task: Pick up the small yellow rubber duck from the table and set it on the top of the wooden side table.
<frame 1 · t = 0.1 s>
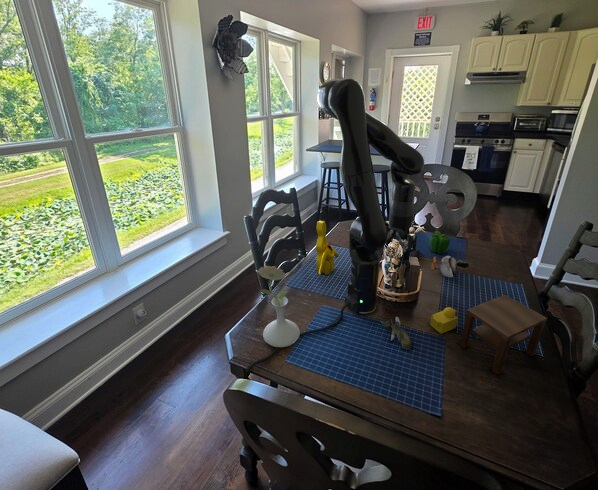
hand: (396, 255, 112), 17 cm above the table, tool pointing down, fingers open, 8 cm apart
flower in vase: (279, 337, 101), on the table
figure statuette: (325, 270, 136), on the table
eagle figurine: (396, 339, 98), on the table
cast iron trivet: (393, 254, 148), on the table
wooden side table: (496, 349, 94), on the table
decorative duck model: (452, 276, 130), on the table
rubber duck: (442, 326, 103), on the table
bell pepper: (437, 251, 149), on the table
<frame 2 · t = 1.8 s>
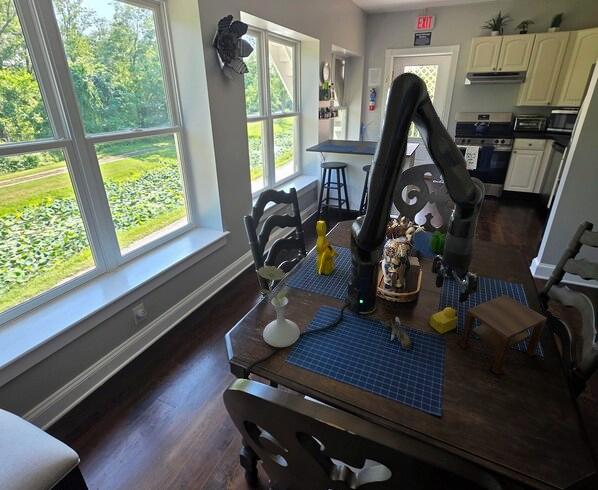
hand: (450, 294, 99), 12 cm above the table, tool pointing down, fingers open, 8 cm apart
nothing on the table moved.
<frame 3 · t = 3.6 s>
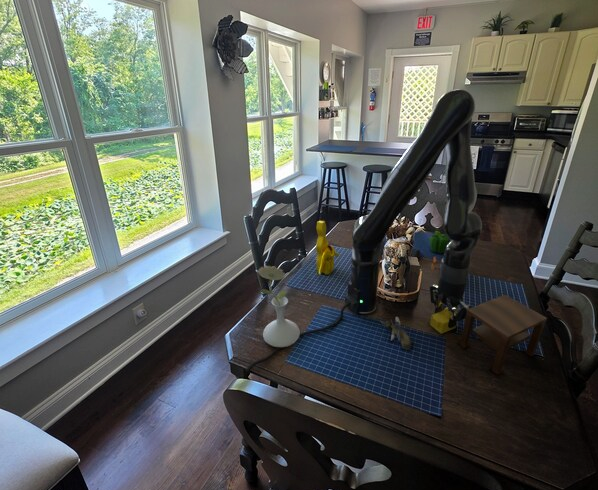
hand: (444, 321, 103), 2 cm above the table, tool pointing down, fingers closed on rubber duck, 4 cm apart
rubber duck: (442, 326, 103), on the table, touching gripper
everything else where it was.
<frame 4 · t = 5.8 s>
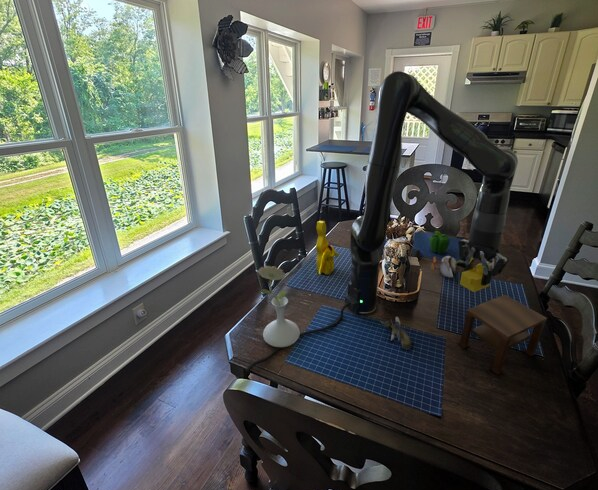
hand: (476, 279, 92), 20 cm above the table, tool pointing down, fingers closed on rubber duck, 4 cm apart
rubber duck: (474, 285, 93), point 18 cm above the table, touching gripper
everything else where it was.
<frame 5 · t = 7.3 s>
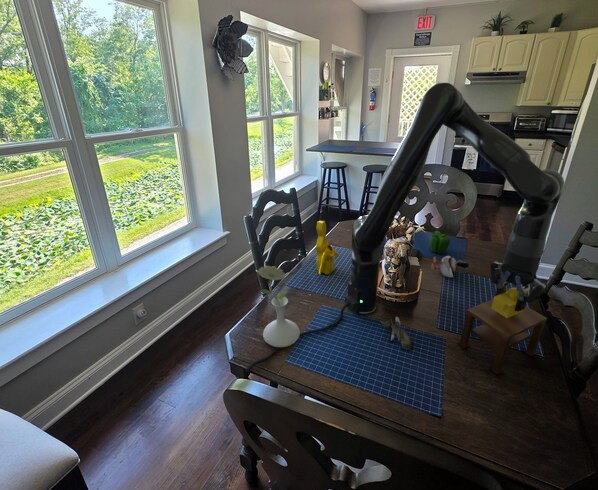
hand: (508, 304, 87), 16 cm above the table, tool pointing down, fingers closed on rubber duck, 4 cm apart
rubber duck: (506, 309, 88), point 14 cm above the table, touching gripper
everything else where it was.
when the fingers open (15 cm above the table, at t = 8.1 s): rubber duck stays where it is, resting on wooden side table.
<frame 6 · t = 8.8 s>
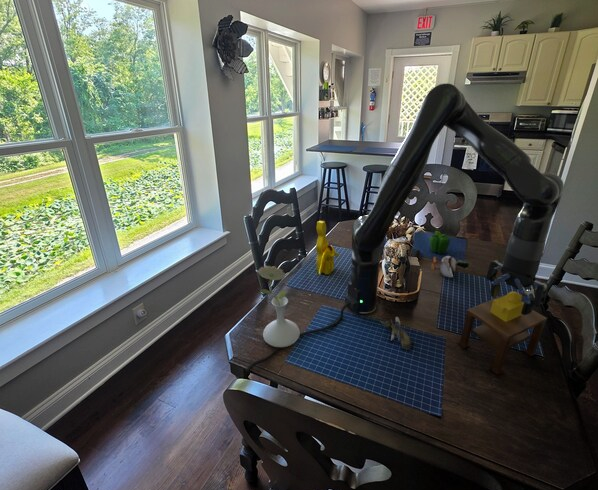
hand: (508, 304, 87), 16 cm above the table, tool pointing down, fingers open, 8 cm apart
rubber duck: (505, 313, 89), point 13 cm above the table, touching wooden side table
everything else where it was.
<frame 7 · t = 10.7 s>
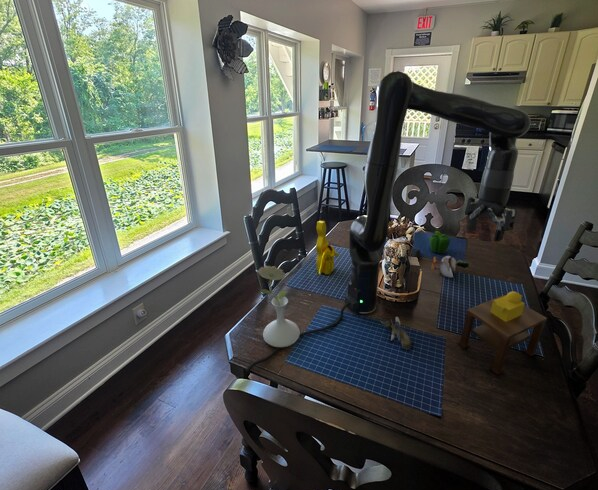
hand: (484, 235, 97), 29 cm above the table, tool pointing down, fingers open, 8 cm apart
nothing on the table moved.
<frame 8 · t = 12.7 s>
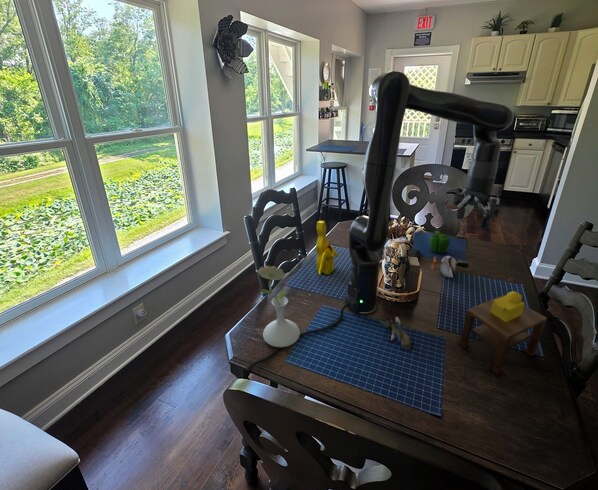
hand: (471, 223, 104), 30 cm above the table, tool pointing down, fingers open, 8 cm apart
nothing on the table moved.
at the end: rubber duck inside the target area on the wooden side table (0.2 cm from its centre), point 13.0 cm above the wooden side table's base; rubber duck tilted 0°; the gripper is holding nothing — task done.
